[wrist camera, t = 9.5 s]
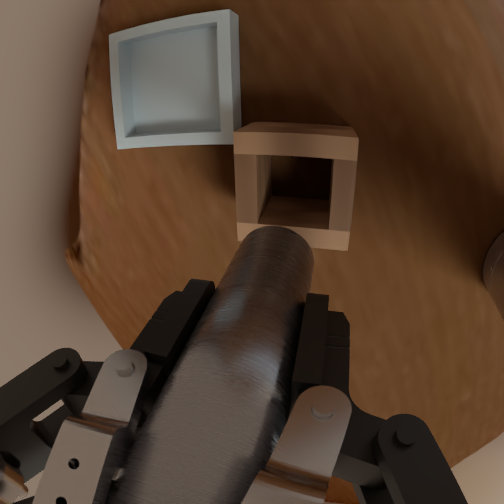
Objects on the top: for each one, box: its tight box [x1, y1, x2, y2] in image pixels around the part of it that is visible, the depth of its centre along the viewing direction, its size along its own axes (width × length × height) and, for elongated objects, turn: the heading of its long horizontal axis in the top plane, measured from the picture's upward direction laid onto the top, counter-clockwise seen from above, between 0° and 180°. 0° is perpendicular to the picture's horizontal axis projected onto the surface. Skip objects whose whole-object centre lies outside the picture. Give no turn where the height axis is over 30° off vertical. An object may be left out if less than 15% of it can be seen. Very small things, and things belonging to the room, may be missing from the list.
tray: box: [109, 9, 242, 149], centre depth 23 cm, size 11×11×2 cm
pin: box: [106, 226, 314, 504], centre depth 8 cm, size 3×3×12 cm
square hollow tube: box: [233, 122, 359, 251], centre depth 23 cm, size 8×8×6 cm
